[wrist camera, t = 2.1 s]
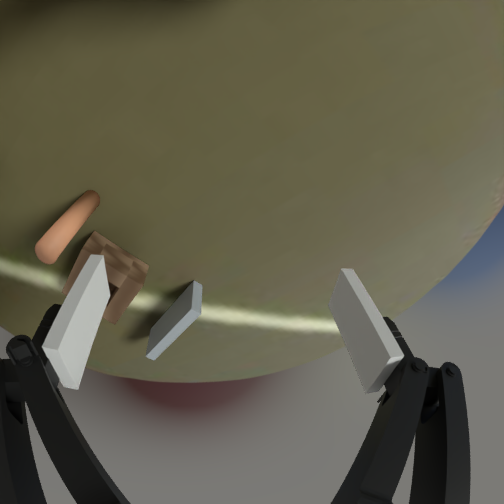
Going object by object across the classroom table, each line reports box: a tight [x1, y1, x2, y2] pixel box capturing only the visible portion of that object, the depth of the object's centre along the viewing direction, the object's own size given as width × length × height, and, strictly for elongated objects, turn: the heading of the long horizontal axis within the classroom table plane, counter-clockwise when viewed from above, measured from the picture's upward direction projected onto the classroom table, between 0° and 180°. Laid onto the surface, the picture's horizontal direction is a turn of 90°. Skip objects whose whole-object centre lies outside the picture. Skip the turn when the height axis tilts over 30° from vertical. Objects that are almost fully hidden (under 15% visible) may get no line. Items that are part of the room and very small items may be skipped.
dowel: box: [35, 190, 100, 264], centre depth 30 cm, size 3×3×14 cm
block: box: [62, 231, 149, 324], centre depth 40 cm, size 10×10×5 cm
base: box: [146, 281, 202, 360], centre depth 45 cm, size 2×14×6 cm, turn 139°
